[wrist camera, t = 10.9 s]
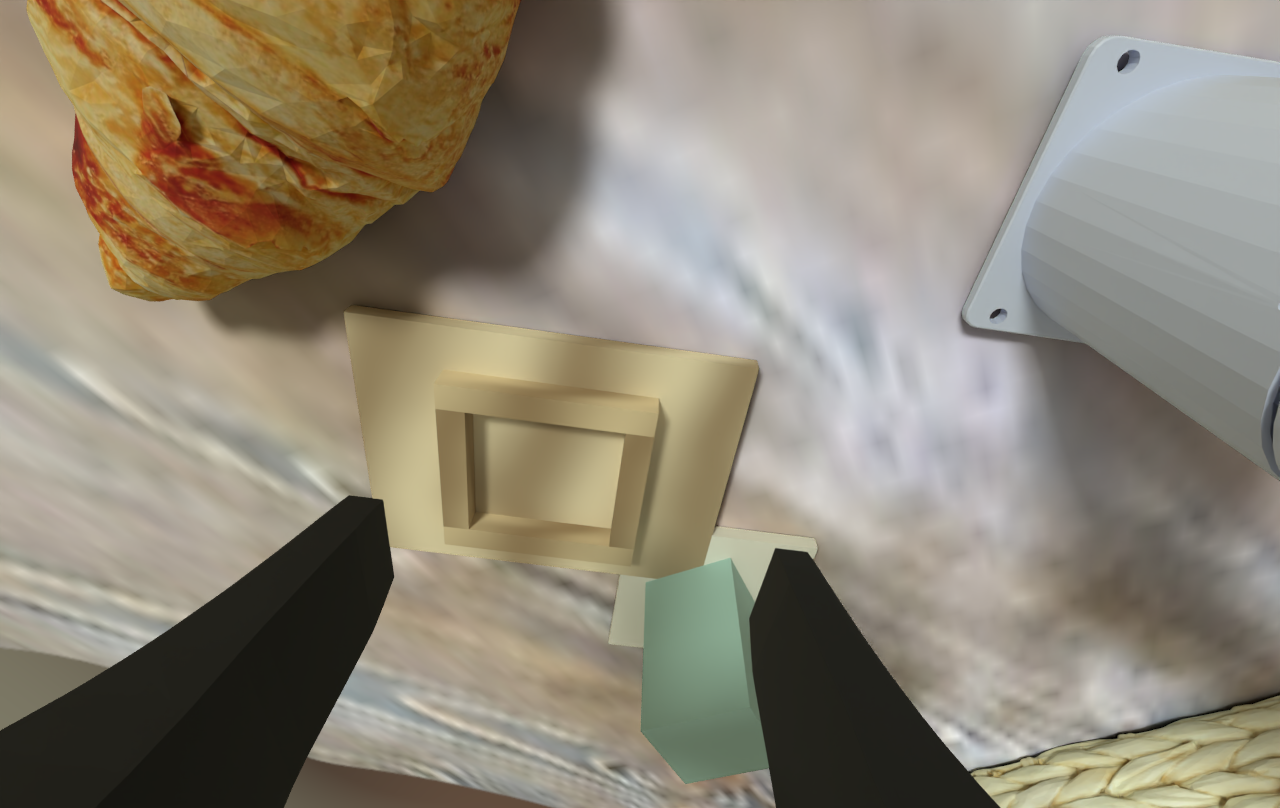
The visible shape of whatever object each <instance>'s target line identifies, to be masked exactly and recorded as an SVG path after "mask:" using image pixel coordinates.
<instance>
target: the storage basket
mask: <svg viewBox="0 0 1280 808" xmlns="http://www.w3.org/2000/svg"><path fill="white" fill-rule="evenodd" d="M1117 737H1118V739H1098V740H1091V741H1085V742H1080V743H1075V744H1070V745H1065V746H1060V747H1056V748H1053V749H1051V750H1048V751H1046V752H1044V753H1042V754H1040V755H1039V756H1037V757H1035V758H1032V757H1027V758H1024V759H1021V760H1020V762H1018V763H1014V764H1010V765H1005V766H1001V767H996V768H987V769H981V770H976V771H974V772H973V773H971V775H972V776H973V778H974V779H975V780H976V781H977V782H978V783H979V785H980V786H981V787H982V788H983V789H984V790H985V791H986V792H987V793H988V795H989V796H990V797H991V798H992V799H993V800H994V801H995V802H996V803H997V804H998V805H999V806H1000V808H1280V696H1276V697H1273V698H1270V699H1266V700H1263V701H1260V702H1257V703H1255V704H1250V705H1241V706H1235V707H1233V708H1232V709H1231V710H1227V711H1221V712H1216V713H1211V714H1207V715H1202V716H1197V717H1191V718H1186V719H1181V720H1179V721H1176V722H1173V723H1171V724H1169V725H1167V726H1165V727H1163V728H1159V729H1153V730H1151V731H1147V732H1142V733H1138V734H1133V733H1128V734H1120V735H1118V736H1117Z"/></svg>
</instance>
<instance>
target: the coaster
mask: <svg viewBox="0 0 1280 808" xmlns="http://www.w3.org/2000/svg"><path fill="white" fill-rule="evenodd" d="M775 548H780V549H788V550H796V551H804V552H808V553H809V555H810V556H811V557H812V559H814V557H815V554H816V552H817V550H818V548H817V545H816V541H815V538H807V537H799V536H791V535H783V534H775V533H767V532H759V531H751V530H743V529H735V528H727V527H719V526H715V527H714V531H713V534H712V538H711V541H710V545H709V548H708V552H707V555H706V559H705V562H704V565H707V564H710V563H714V562H717V561H721V560H724V559H727V558H731V559H732V561H733V563H734V565H735V567H736V569H737V570H738V572H739V574H740V576H741V578H742V580H743V581H744V583H745V585H746V587H747V589H748V591H749V592H750V594H751V596H752V598H753V600H754V602H755V601H756V598H757V596H758V593H759V590H760V588H761V585H762V582H763V580H764V577H765V574H766V572H767V569H768V566H769V563H770V561H771V558H772V555H773V553H774V550H775ZM652 580H656V579H653V578H645V577H636V576H628V575H619V579H618V585H617V591H616V597H615V603H614V609H613V615H612V621H611V627H610V632H609V643H608V644H614V645H623V646H632V647H640V648H643V647H644V616H645V586H646V582H649V581H652Z"/></svg>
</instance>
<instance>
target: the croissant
mask: <svg viewBox="0 0 1280 808" xmlns="http://www.w3.org/2000/svg"><path fill="white" fill-rule="evenodd" d="M520 1H521V0H28V1H27V9H26V10H27V13H28V16H29V20H30V22H31V24H32V26H33V28H34V31H35V33H36V35H37V37H38V39H39V41H40V44H41V46H42V48H43V50H44V52H45V54H46V56H47V58H48V60H49V62H50V64H51V66H52V69H53V71H54V73H55V75H56V77H57V79H58V82H59V84H60V86H61V88H62V89H63V91H64V92H65V94H66V95H67V96H68V98H69V99H70V101H71V102H72V104H73V105H74V108H75V112H76V114H75V135H74V144H73V150H72V171H73V176H74V181H75V186H76V189H77V191H78V193H79V195H80V197H81V199H82V201H83V203H84V205H85V207H86V210H87V212H88V215H89V217H90V219H91V221H92V222H93V224H94V225H95V227H96V229H97V230H98V232H99V233H100V236H99V241H98V245H99V250H100V256H101V261H102V264H103V267H104V270H105V273H106V276H107V279H108V282H109V285H110V287H111V288H112V289H114V290H116V291H118V292H120V293H122V294H125V295H128V296H132V297H136V298H139V299H143V300H147V301H165V300H170V299H175V300H181V299H182V300H192V301H204V300H210V299H212V298H214V297H215V296H217V295H219V294H221V293H224V292H227V291H230V290H231V289H232V288H234V287H236V286H238V285H240V284H242V283H244V282H246V281H248V280H250V279H260V278H263V277H266V276H269V275H272V274H275V273H279V272H286V271H292V270H302V269H305V268H307V267H310V266H312V265H314V264H316V263H318V262H320V261H322V260H324V259H325V258H327V257H329V256H330V255H332V254H333V253H335V252H336V251H338V250H339V249H341V248H342V247H344V246H346V245H347V244H349V243H350V242H351V241H352V240H353V239H354V238H355V237H356V236H357V234H358V233H359V232H360V231H361V229H362V228H363V227H364V226H365V225H366V224H371V223H373V222H374V221H375V220H377V219H378V218H379V217H380V216H382V215H383V214H384V213H386V212H387V211H388V210H389V209H391V208H392V207H393V206H394V205H400V204H404V203H406V202H407V201H408V200H409V199H411V198H412V197H413V196H414V195H415V194H416V193H417V192H418V191H420V190H421V191H427V192H434V191H436V190H437V189H439V188H441V187H443V186H444V185H445V184H446V183H447V182H448V180H449V178H450V176H451V174H452V172H453V170H454V168H455V165H456V162H457V161H458V160H459V159H460V157H461V155H462V153H463V150H464V148H465V146H466V143H467V141H468V138H469V136H470V134H471V132H472V130H473V128H474V125H475V123H476V120H477V117H478V114H479V111H480V107H481V102H482V100H483V98H484V96H485V95H486V93H487V91H488V90H489V88H490V86H491V85H492V84H493V83H494V81H495V78H496V77H497V74H498V72H499V70H500V68H501V65H502V63H503V61H504V59H505V54H506V50H507V46H508V42H509V39H510V35H511V31H512V27H513V23H514V20H515V16H516V13H517V10H518V7H519V4H520Z"/></svg>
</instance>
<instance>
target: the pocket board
mask: <svg viewBox="0 0 1280 808" xmlns="http://www.w3.org/2000/svg"><path fill="white" fill-rule="evenodd" d="M343 313H344V319H345V326H346V332H347V339H348V345H349V351H350V358H351V364H352V371H353V377H354V383H355V390H356V396H357V403H358V409H359V415H360V422H361V428H362V435H363V441H364V447H365V454H366V460H367V467H368V473H369V479H370V486H371V492H372V498H374V499H382V500H383V502H384V509H385V516H386V523H387V530H388V537H389V544H390V547H394V548H402V549H411V550H419V551H427V552H436V553H444V554H452V555H461V556H469V557H478V558H486V559H494V560H503V561H511V562H519V563H528V564H536V565H544V566H553V567H561V568H569V569H578V570H586V571H594V572H603V573H611V574H619V575H628V576H636V577H645V578H653V579H659V578H662V577H666V576H669V575H673V574H676V573H680V572H683V571H686V570H690V569H693V568H697V567H700V566H704V562H705V559H706V555H707V552H708V548H709V545H710V541H711V538H712V534H713V531H714V527H715V524H716V520H717V516H718V513H719V509H720V506H721V502H722V499H723V495H724V492H725V488H726V485H727V481H728V477H729V474H730V470H731V467H732V463H733V460H734V456H735V453H736V449H737V446H738V442H739V439H740V435H741V431H742V428H743V424H744V421H745V417H746V414H747V410H748V407H749V403H750V400H751V396H752V392H753V389H754V385H755V382H756V378H757V375H758V371H759V366H758V363H757V360H750V359H743V358H735V357H728V356H721V355H714V354H706V353H699V352H692V351H684V350H677V349H670V348H663V347H655V346H648V345H641V344H633V343H626V342H619V341H611V340H604V339H597V338H590V337H582V336H575V335H568V334H560V333H553V332H546V331H539V330H531V329H524V328H517V327H509V326H502V325H495V324H488V323H480V322H473V321H466V320H458V319H451V318H444V317H437V316H429V315H422V314H415V313H407V312H400V311H393V310H386V309H378V308H371V307H364V306H356V305H351V306H350V307H349V308H347V309H346V310H345V311H344V312H343Z"/></svg>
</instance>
